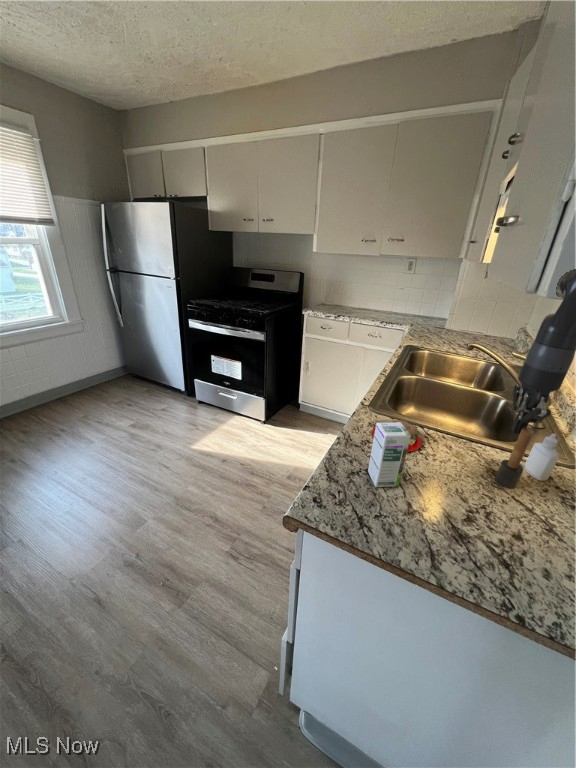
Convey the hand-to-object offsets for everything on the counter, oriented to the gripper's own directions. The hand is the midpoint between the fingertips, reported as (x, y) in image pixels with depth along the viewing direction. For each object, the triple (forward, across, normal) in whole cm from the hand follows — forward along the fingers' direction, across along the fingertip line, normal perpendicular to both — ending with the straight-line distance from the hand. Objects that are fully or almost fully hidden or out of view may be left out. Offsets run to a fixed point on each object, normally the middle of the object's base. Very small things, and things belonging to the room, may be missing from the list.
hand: (517, 432), depth 74 cm
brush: (+12, -4, 0) cm, 13 cm away
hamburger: (+12, +8, +25) cm, 29 cm away
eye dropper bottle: (+12, +2, -9) cm, 15 cm away
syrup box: (+12, -11, +29) cm, 34 cm away
